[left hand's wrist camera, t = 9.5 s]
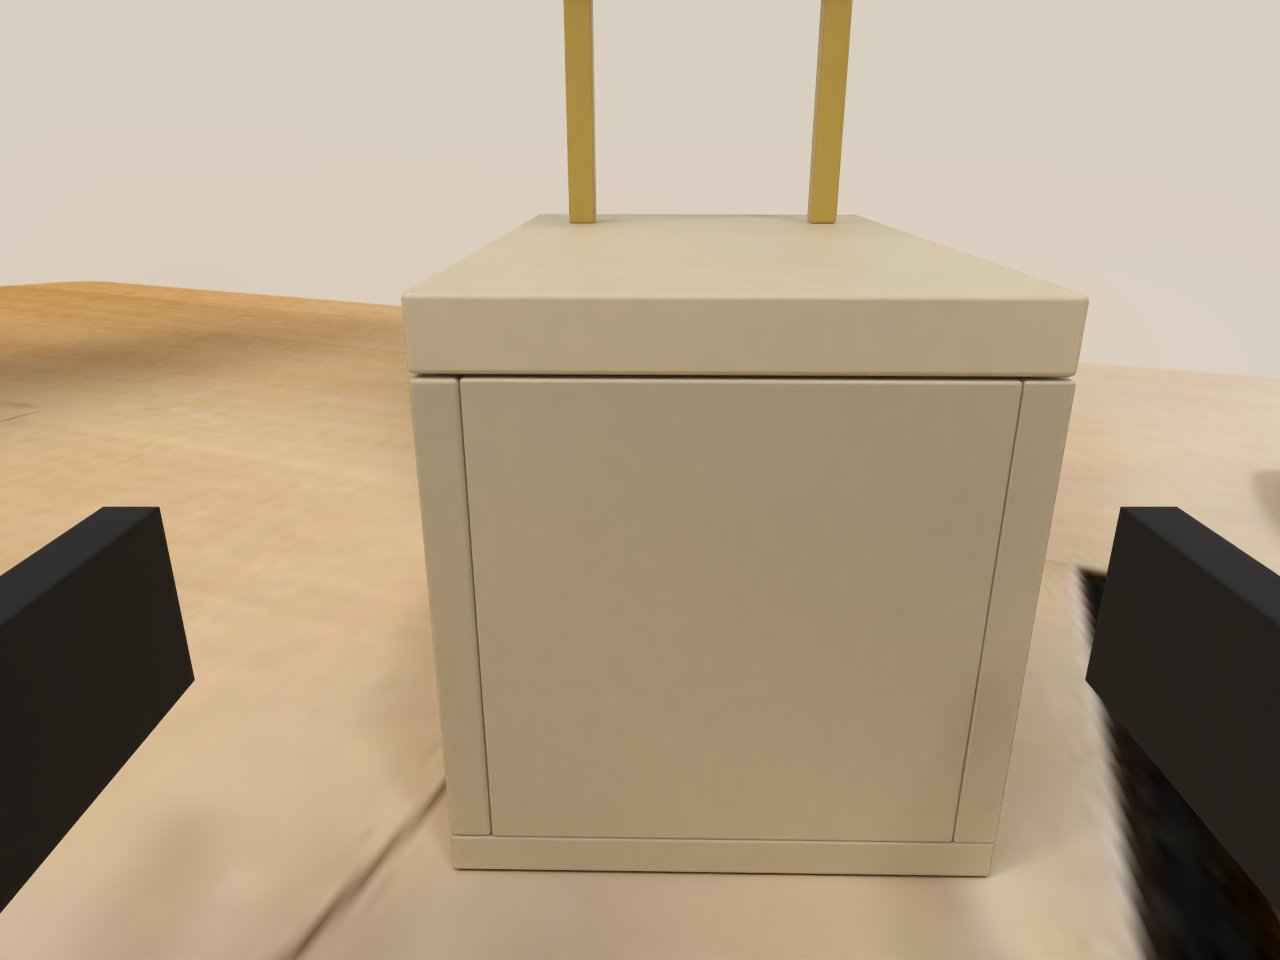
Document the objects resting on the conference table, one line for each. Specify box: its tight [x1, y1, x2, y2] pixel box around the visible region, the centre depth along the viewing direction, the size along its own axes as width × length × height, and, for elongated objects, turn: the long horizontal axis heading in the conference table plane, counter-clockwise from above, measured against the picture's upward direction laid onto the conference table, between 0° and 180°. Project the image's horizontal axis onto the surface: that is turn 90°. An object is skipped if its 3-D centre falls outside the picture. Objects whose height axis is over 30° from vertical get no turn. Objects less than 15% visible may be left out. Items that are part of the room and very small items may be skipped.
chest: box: [409, 374, 1075, 876], centre depth 22 cm, size 15×10×9 cm, turn 179°
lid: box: [401, 0, 1089, 377], centre depth 19 cm, size 16×10×8 cm, turn 179°
